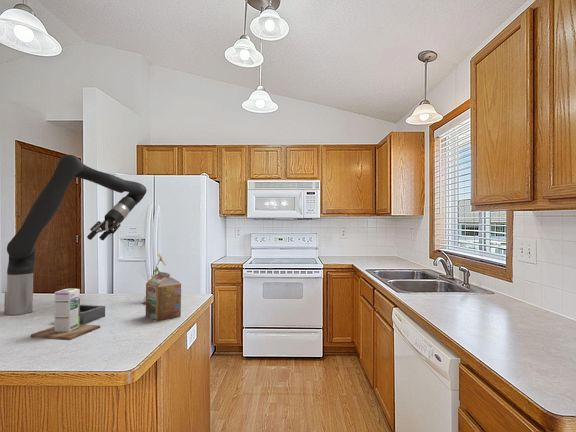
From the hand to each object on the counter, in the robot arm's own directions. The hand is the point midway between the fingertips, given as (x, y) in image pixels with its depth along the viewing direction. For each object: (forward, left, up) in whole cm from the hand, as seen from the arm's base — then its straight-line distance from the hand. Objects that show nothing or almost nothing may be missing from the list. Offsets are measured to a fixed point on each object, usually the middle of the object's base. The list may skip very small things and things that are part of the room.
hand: (94, 238), depth 154 cm
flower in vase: (+17, +22, -33) cm, 43 cm away
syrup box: (+12, -27, -32) cm, 44 cm away
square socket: (+5, -13, -33) cm, 35 cm away
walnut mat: (+12, -28, -33) cm, 45 cm away
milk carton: (+35, -2, -33) cm, 48 cm away
